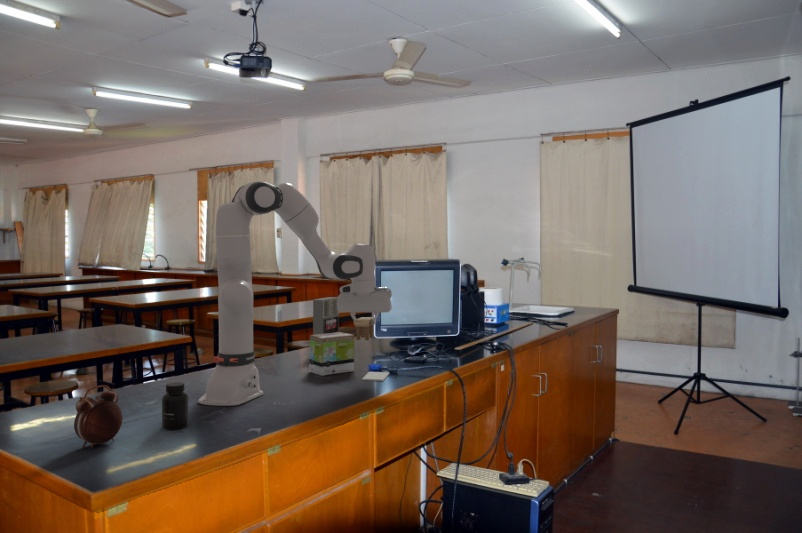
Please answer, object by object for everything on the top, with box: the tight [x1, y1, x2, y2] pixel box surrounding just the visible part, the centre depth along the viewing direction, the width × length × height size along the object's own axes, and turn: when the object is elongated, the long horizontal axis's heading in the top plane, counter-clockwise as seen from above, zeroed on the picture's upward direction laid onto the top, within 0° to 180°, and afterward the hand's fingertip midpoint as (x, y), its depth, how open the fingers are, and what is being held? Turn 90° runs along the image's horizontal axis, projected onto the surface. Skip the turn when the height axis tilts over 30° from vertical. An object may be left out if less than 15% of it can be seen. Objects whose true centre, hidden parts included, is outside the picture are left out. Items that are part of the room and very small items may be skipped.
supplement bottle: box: [161, 381, 189, 431], centre depth 167 cm, size 7×7×12 cm
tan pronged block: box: [354, 316, 375, 341], centre depth 227 cm, size 7×5×8 cm
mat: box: [362, 371, 390, 382], centre depth 230 cm, size 12×8×1 cm, turn 171°
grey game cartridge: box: [312, 296, 340, 335], centre depth 277 cm, size 14×6×25 cm, turn 155°
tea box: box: [308, 331, 356, 377], centre depth 238 cm, size 15×10×15 cm
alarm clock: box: [73, 384, 123, 449], centre depth 152 cm, size 11×5×15 cm, turn 150°
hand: (364, 324), depth 227 cm, fingers closed on tan pronged block, 5 cm apart
